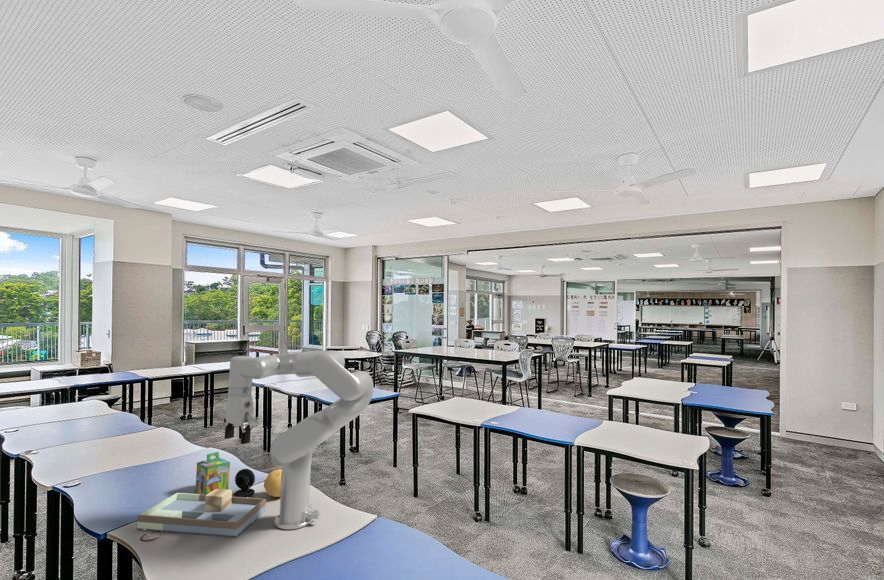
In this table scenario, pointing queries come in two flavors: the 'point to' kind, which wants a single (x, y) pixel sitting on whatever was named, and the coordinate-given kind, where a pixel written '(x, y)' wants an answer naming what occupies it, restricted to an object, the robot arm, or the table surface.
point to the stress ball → (273, 483)
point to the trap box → (201, 516)
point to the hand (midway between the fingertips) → (237, 440)
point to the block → (218, 500)
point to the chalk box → (212, 474)
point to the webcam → (244, 483)
